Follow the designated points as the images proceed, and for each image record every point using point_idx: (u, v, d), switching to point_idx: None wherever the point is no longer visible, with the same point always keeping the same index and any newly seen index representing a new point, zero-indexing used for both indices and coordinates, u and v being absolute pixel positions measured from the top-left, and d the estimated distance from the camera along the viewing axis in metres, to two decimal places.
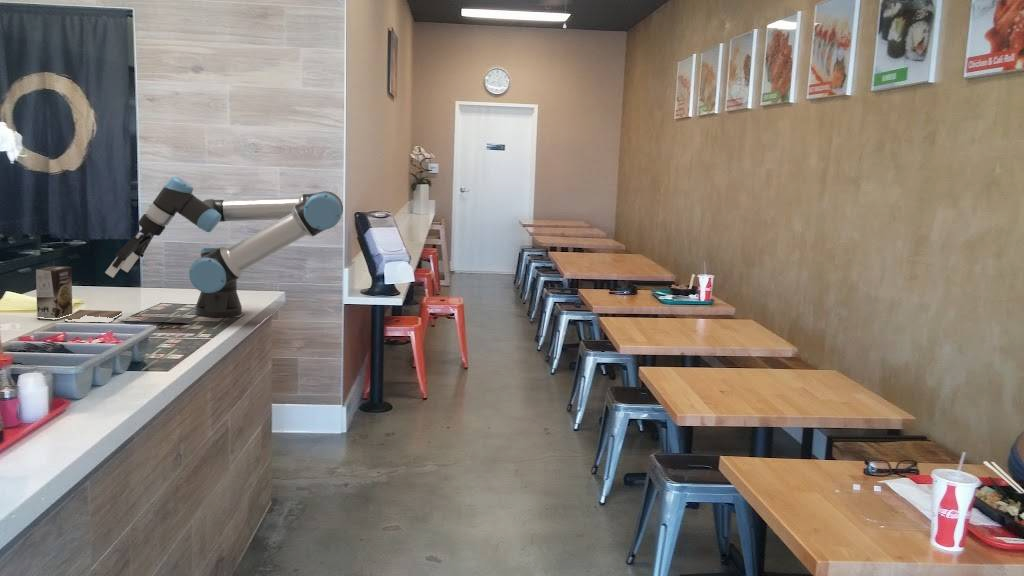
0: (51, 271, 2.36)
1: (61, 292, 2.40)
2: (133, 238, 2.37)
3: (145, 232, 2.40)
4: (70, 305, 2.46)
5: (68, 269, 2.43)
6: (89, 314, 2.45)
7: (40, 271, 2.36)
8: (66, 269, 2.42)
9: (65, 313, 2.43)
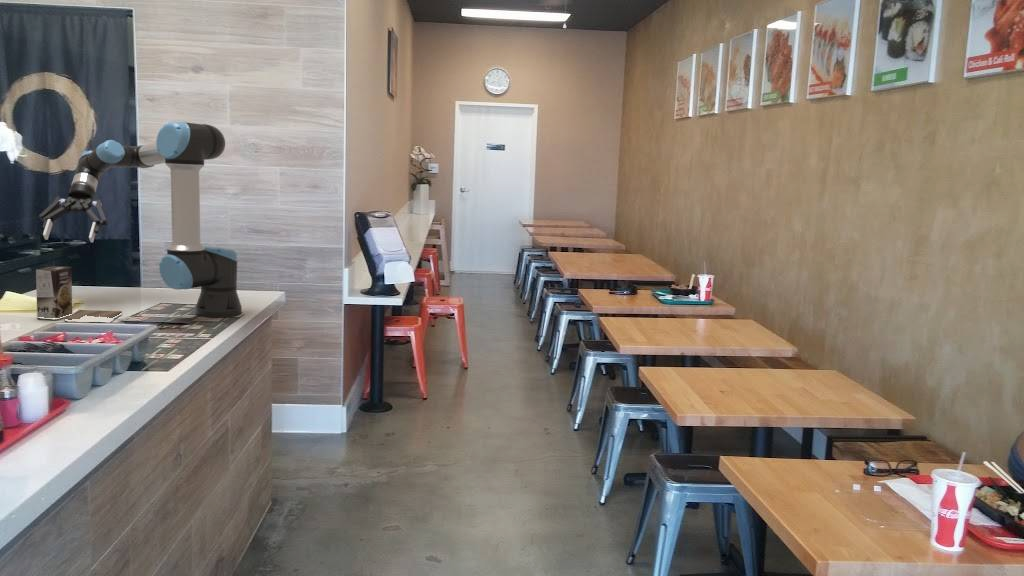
0: (51, 271, 2.36)
1: (61, 292, 2.40)
2: None
3: None
4: (70, 305, 2.46)
5: (68, 269, 2.43)
6: (89, 314, 2.45)
7: (40, 271, 2.36)
8: (66, 269, 2.42)
9: (65, 313, 2.43)
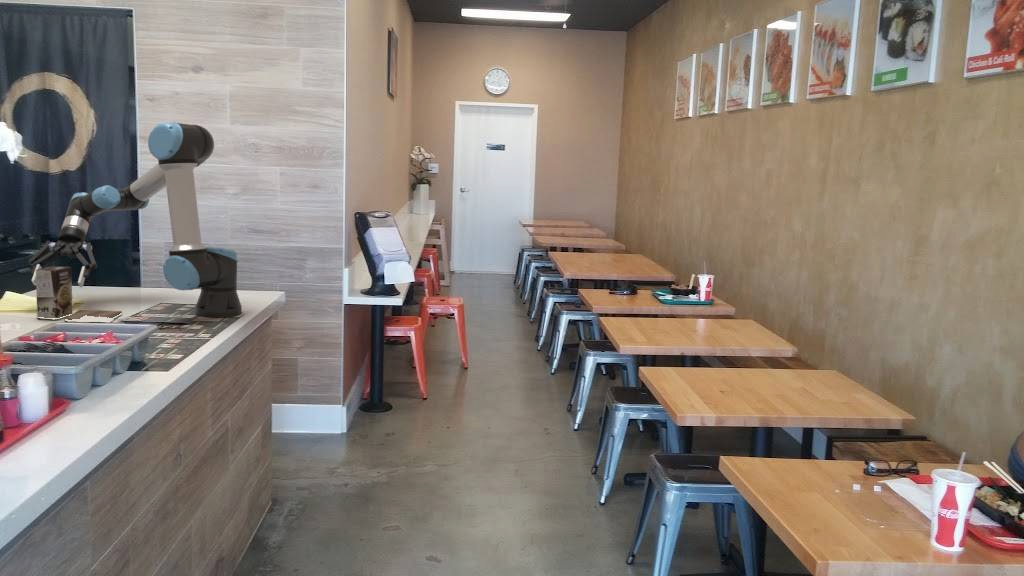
0: (51, 271, 2.36)
1: (61, 292, 2.40)
2: None
3: None
4: (70, 305, 2.46)
5: (68, 269, 2.43)
6: (89, 314, 2.45)
7: (40, 271, 2.36)
8: (66, 269, 2.42)
9: (65, 313, 2.43)
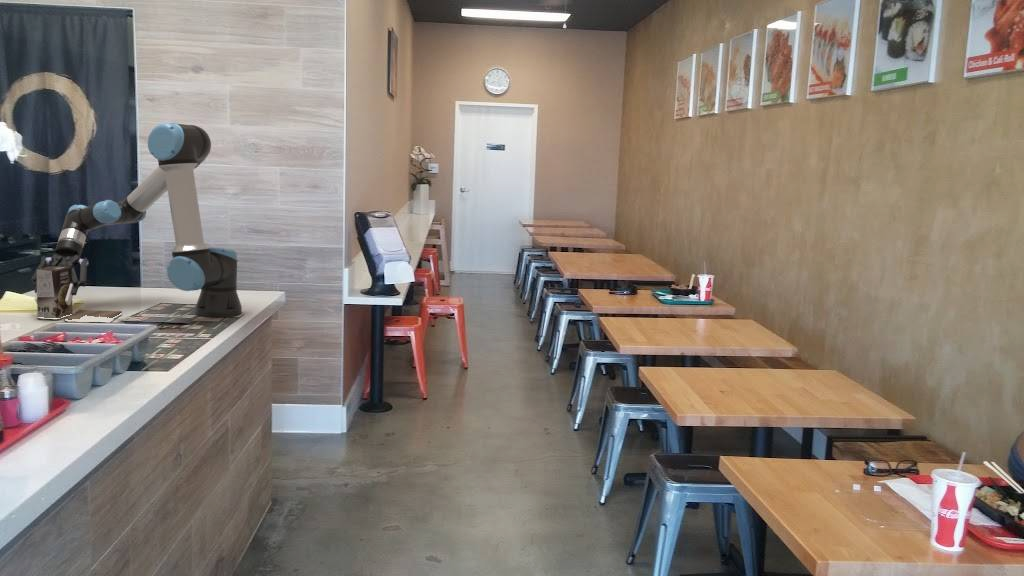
0: (52, 271, 2.36)
1: (62, 292, 2.40)
2: None
3: None
4: (70, 305, 2.46)
5: (69, 268, 2.43)
6: (89, 314, 2.45)
7: (41, 271, 2.36)
8: (66, 269, 2.42)
9: (65, 313, 2.43)
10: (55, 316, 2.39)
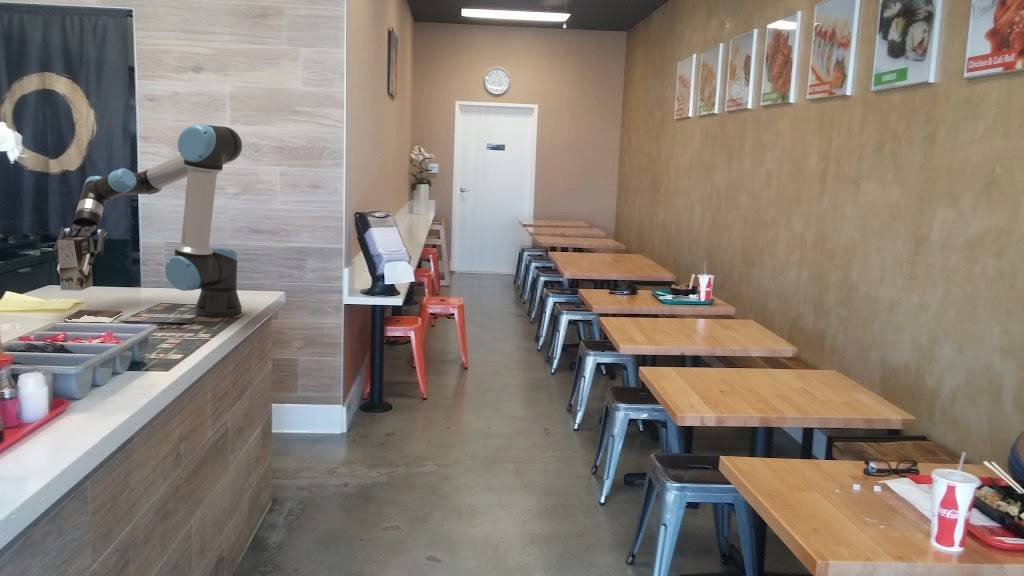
0: (74, 241, 2.36)
1: (84, 261, 2.40)
2: None
3: None
4: (90, 275, 2.46)
5: (87, 239, 2.43)
6: (89, 314, 2.45)
7: (62, 241, 2.35)
8: (86, 239, 2.42)
9: (87, 283, 2.43)
10: (79, 286, 2.38)
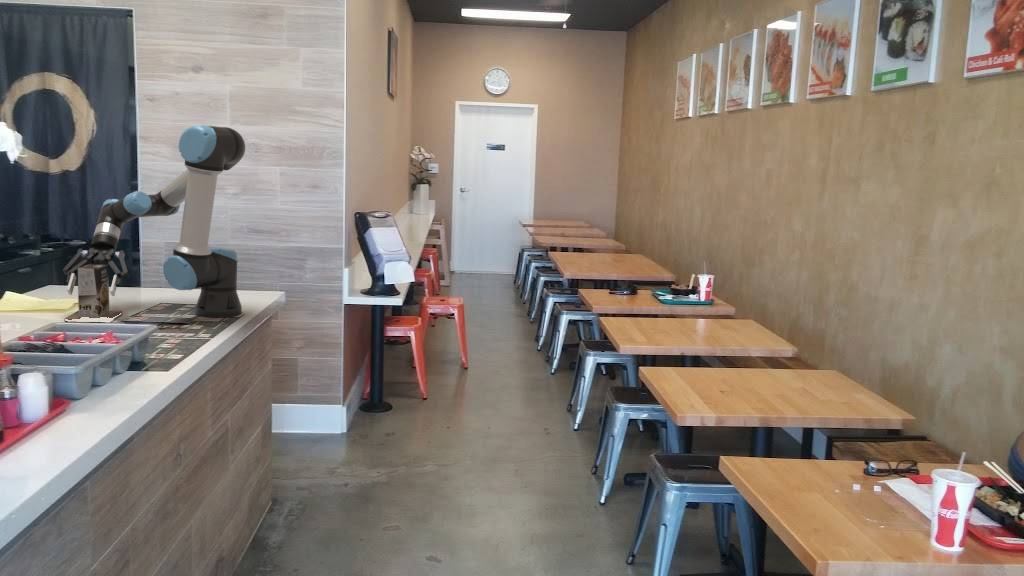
0: (94, 269, 2.38)
1: (102, 289, 2.42)
2: None
3: None
4: (108, 302, 2.48)
5: (106, 266, 2.45)
6: None
7: (82, 269, 2.38)
8: (105, 267, 2.44)
9: (104, 310, 2.45)
10: (97, 314, 2.41)
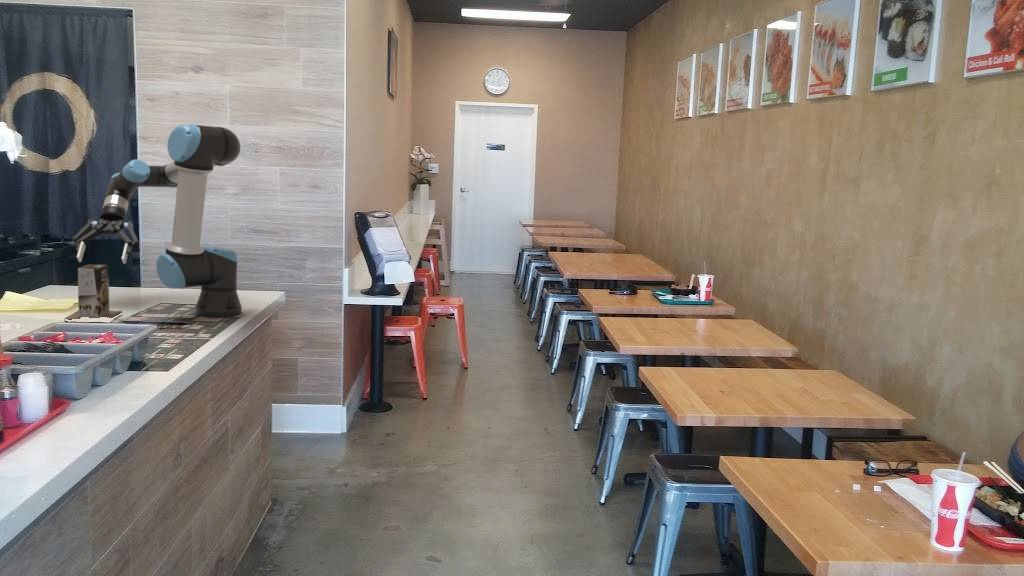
0: (94, 269, 2.38)
1: (102, 289, 2.42)
2: None
3: None
4: (108, 302, 2.48)
5: (106, 266, 2.45)
6: None
7: (82, 269, 2.38)
8: (105, 267, 2.44)
9: (104, 310, 2.45)
10: (97, 314, 2.41)
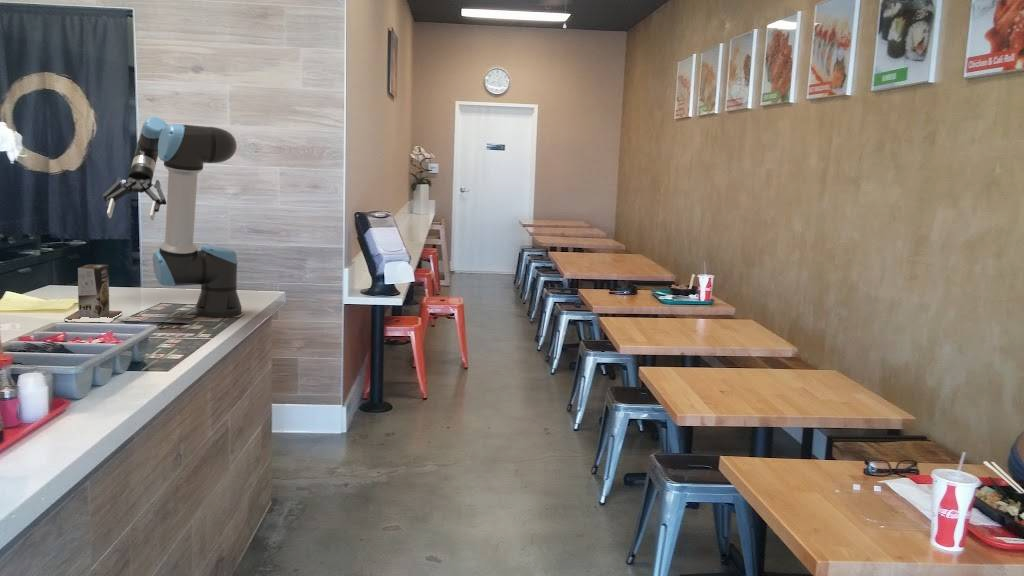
0: (94, 269, 2.38)
1: (102, 289, 2.42)
2: None
3: None
4: (108, 302, 2.48)
5: (106, 266, 2.45)
6: None
7: (82, 269, 2.38)
8: (105, 267, 2.44)
9: (104, 310, 2.45)
10: (97, 314, 2.41)
